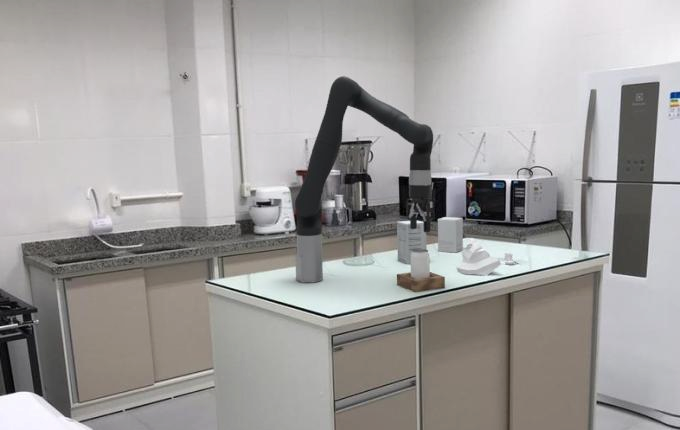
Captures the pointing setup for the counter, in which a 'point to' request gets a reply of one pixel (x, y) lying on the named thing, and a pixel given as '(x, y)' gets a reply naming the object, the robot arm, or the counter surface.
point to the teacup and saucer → (508, 258)
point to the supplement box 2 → (450, 234)
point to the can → (420, 264)
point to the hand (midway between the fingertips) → (420, 230)
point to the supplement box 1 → (409, 240)
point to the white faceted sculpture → (477, 260)
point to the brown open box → (420, 282)
